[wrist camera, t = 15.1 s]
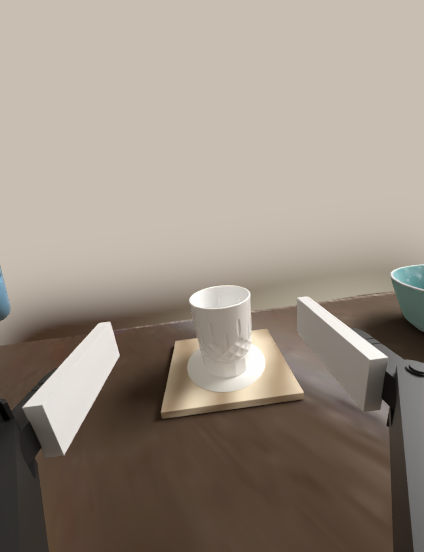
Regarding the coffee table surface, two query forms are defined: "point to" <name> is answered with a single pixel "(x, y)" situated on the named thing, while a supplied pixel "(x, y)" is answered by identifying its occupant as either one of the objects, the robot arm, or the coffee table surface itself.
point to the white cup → (223, 328)
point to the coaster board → (227, 380)
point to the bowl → (410, 293)
